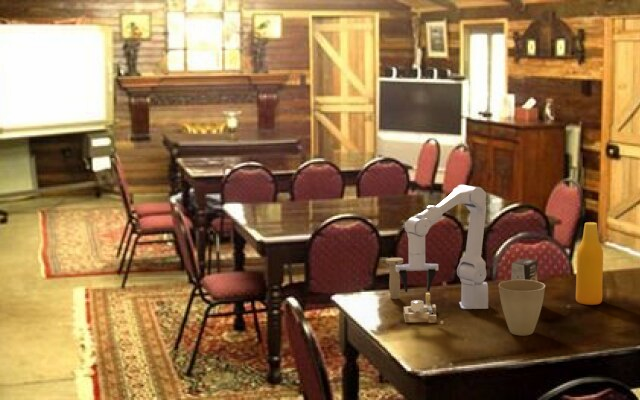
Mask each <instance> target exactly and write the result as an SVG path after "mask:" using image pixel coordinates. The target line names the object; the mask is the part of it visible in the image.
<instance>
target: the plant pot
mask: <svg viewBox="0 0 640 400" xmlns="http://www.w3.org/2000/svg"><path fill="white" fill-rule="evenodd" d="M497 286H498V291H499V298H500V304H501V308H502V311H503V315H504V318H505V321H506V325H507V327H508V330H509V333H510V334H511V335H512V334H513V335H516V336H529V335H532V334H533V333H534V331H535V328H536V326H537V324H538V321H539V317H540V314H541V310H542V307H543V304H544V303H543V302H544V296H545V292H546V290H545V289H546V284H545V283H543V282H540V281H538V280H537V281H532V280H511V279H510V280H509V279H508V280H505V281H501V282H499V283H498V285H497Z"/></svg>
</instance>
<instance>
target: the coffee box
mask: <svg viewBox="0 0 640 400" xmlns="http://www.w3.org/2000/svg"><path fill="white" fill-rule="evenodd" d="M510 273H511V278H510V280H532V281H538V260H537V259H536V260H535V259H531V258H530V259H529V258H527V259H526V258H521V259H518V260H515V261H513V262H511V272H510Z"/></svg>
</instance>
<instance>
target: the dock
mask: <svg viewBox="0 0 640 400" xmlns="http://www.w3.org/2000/svg"><path fill="white" fill-rule="evenodd" d="M431 307H432V313H433V314H429V313H428V311H427V306H426V303H424V313H411V306H403V318H404V322H405V323H428V324H429V323H432V324H434V323H437V305H436V304H432V303H431Z"/></svg>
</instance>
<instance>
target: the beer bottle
mask: <svg viewBox="0 0 640 400" xmlns="http://www.w3.org/2000/svg"><path fill="white" fill-rule="evenodd" d="M603 273H604V251H603V247H602V245H601V243H600V240H599V232H598V223H597V222H593V221H592V222H591V221H589V222H585V223H584V227H583V234H582V239H581V242H580V244H579V246H578V249H577V252H576V277H575V279H576V282H575V284H576V285H575V301H576V302H577V303H578V304H581V305H588V306H595V305H599V304H601V303H602V301H603V279H604V277H603Z"/></svg>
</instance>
